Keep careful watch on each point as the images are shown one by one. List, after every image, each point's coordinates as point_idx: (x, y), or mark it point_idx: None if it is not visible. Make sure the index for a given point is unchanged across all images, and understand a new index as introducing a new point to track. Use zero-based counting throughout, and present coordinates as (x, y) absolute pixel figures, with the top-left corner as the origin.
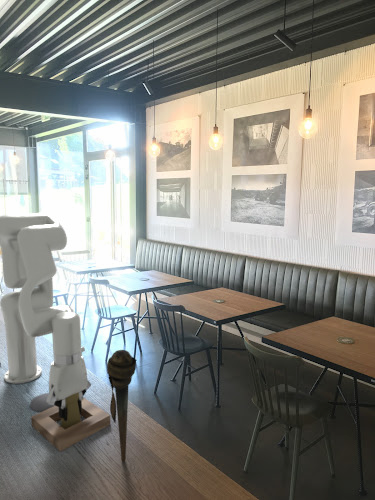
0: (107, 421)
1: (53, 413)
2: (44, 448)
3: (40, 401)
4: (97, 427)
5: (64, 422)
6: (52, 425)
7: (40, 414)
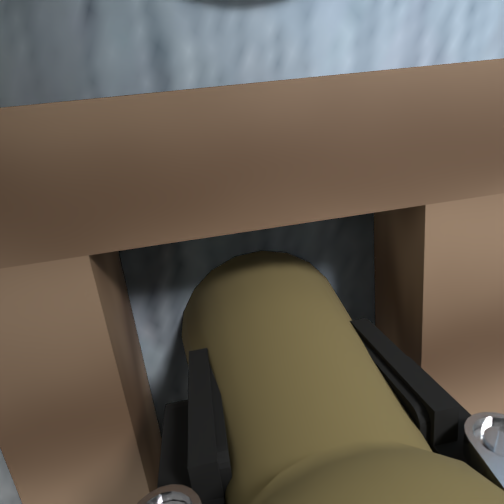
0: None
1: (156, 236)
2: (5, 464)
3: None
4: None
5: None
6: (78, 427)
7: (7, 154)
